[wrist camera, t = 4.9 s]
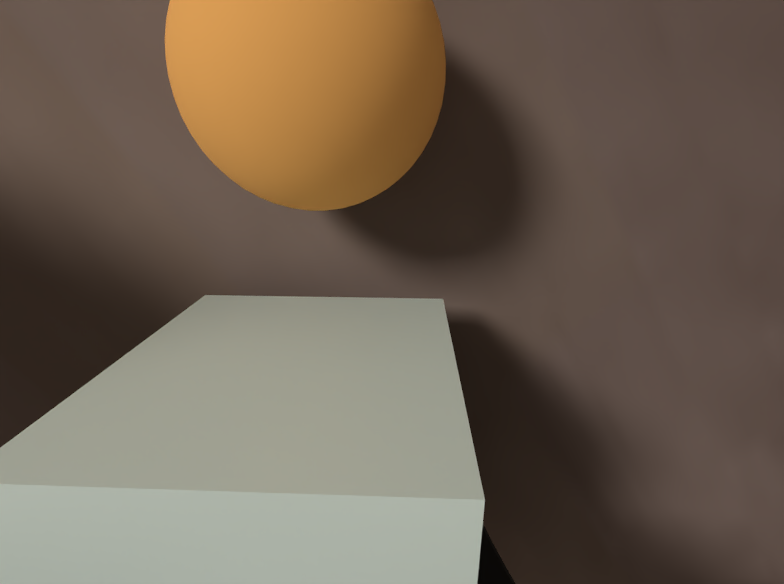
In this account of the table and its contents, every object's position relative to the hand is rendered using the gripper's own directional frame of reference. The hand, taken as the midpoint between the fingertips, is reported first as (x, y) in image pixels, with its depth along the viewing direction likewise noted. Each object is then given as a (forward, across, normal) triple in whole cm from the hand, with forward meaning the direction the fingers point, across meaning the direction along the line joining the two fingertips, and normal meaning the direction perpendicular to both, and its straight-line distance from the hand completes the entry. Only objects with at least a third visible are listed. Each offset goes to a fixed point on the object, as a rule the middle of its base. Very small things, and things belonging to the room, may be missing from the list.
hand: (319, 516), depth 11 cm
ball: (+1, 0, -10) cm, 10 cm away
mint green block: (+2, 0, 0) cm, 2 cm away
